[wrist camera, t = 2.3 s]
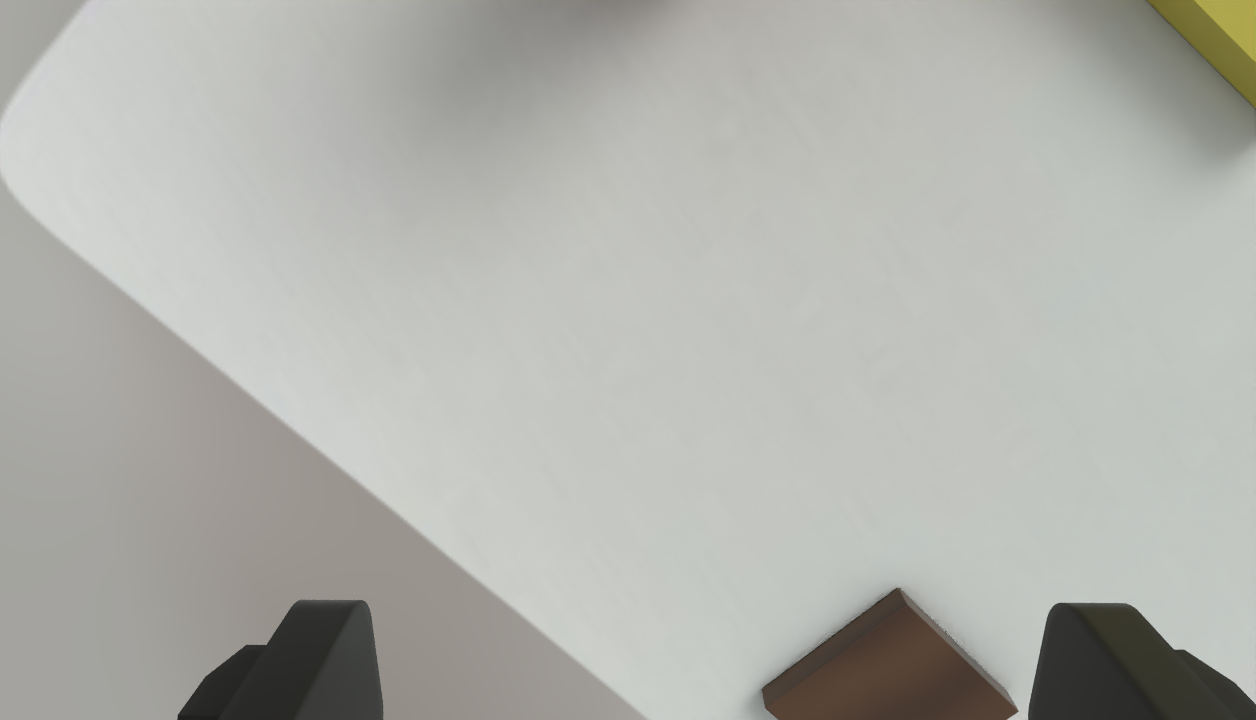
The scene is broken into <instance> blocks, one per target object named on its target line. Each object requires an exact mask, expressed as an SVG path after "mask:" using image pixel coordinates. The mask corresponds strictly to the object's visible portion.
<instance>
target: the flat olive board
mask: <svg viewBox="0 0 1256 720" xmlns="http://www.w3.org/2000/svg"><path fill="white" fill-rule="evenodd" d="M1147 1H1148V2H1149V3H1150V4H1151V5H1152V6H1153V7H1154V8H1155V9H1156V10H1157V11H1158V12H1159V13H1160V14H1161V15H1162V16H1163V17H1164V18H1165V19H1166V20H1167V21H1168V22H1169V23H1170V24H1171V25H1172V26H1173V27H1174V28H1175V29H1176V30H1177V31H1178V32H1179V33H1180V34H1181V35H1182V36H1183V37H1184V38H1185V39H1186V40H1187V41H1188V42H1189V43H1190V44H1191V45H1192V46H1193V47H1194V48H1195V49H1196V50H1197V51H1198V52H1199V53H1200V54H1201V55H1202V56H1203V57H1204V58H1205V59H1206V60H1207V61H1208V62H1209V63H1210V64H1211V65H1212V66H1213V67H1214V68H1215V69H1217V70H1218V71H1219V72H1220V73H1221V74H1222V75H1223V76H1224V77H1225V78H1226V79H1227V80H1228V81H1229V82H1230V83H1231V84H1232V85H1233V86H1234V87H1235V88H1236V89H1237V90H1238V91H1239V92H1240V93H1241V94H1242V95H1243V96H1244V97H1245V98H1246V99H1247V100H1248V101H1249V102H1250V103H1251V104H1252V105H1253V106H1254V107H1255V108H1256V0H1147Z"/></svg>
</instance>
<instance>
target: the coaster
mask: <svg viewBox="0 0 1256 720" xmlns="http://www.w3.org/2000/svg"><path fill="white" fill-rule="evenodd" d="M762 693H763V699H764V704H765V708H766V709H767V710H768V711H769V712H770V713H771V714H773V715H774V716H775V717H776V718H777V719H778V720H1007V719H1008V718H1010V717H1011V716H1013V715H1014V714H1016V713H1017V712H1018V709H1017V707H1016V706H1015V704H1014V702H1013V701H1012V699H1011V697H1010V696H1009V694H1008V692H1007V691H1006V690H1005V689H1004V688H1003V687H1001V686H1000V685H999V684H998V683H997V682H996V681H995V680H994V679H993V678H992V677H991V676H990V675H989V674H988V673H987V672H986V671H985V670H984V669H983V668H982V667H981V666H980V665H979V664H978V663H977V662H976V661H974V660H973V659H972V658H971V657H970V656H969V655H968V654H967V653H966V652H965V651H964V650H963V649H962V648H961V647H960V646H959V645H958V644H957V643H956V642H955V641H954V640H953V639H952V638H951V637H950V636H948V635H947V634H946V633H945V632H944V631H943V630H942V629H941V628H940V627H939V626H938V625H937V624H936V623H935V622H934V621H933V620H932V619H931V618H930V617H929V616H928V615H927V614H926V613H925V612H924V611H923V610H921V609H920V608H919V607H918V606H917V605H916V604H915V603H914V602H913V601H912V600H911V599H910V598H909V597H908V596H907V595H906V594H905V593H904V592H903V591H902V590H901V589H900V588H897V589H896V590H895V591H893V592H892V593H890V594H889V595H888V596H886V597H885V598H884V599H882V600H881V601H880V602H878V603H877V604H876V605H874V606H873V607H872V608H870V609H869V610H868V611H866V612H865V613H864V614H862V615H861V616H860V617H858V618H857V619H856V620H854V621H853V622H852V623H850V624H849V625H848V626H846V627H845V628H844V629H842V630H841V631H840V632H838V633H837V634H836V635H834V636H833V637H832V638H830V639H829V640H827V641H826V642H825V643H823V644H822V645H821V646H819V647H818V648H817V649H815V650H814V651H813V652H811V653H810V654H809V655H807V656H806V657H805V658H803V659H802V660H801V661H799V662H798V663H797V664H795V665H794V666H793V667H791V668H790V669H789V670H787V671H786V672H785V673H783V674H782V675H781V676H779V677H778V678H777V679H775V680H774V681H773V682H771V683H770V684H768V685H767V686H766V687H764V688H763V689H762Z"/></svg>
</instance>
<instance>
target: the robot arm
mask: <svg viewBox="0 0 1256 720" xmlns="http://www.w3.org/2000/svg"><path fill="white" fill-rule="evenodd" d="M177 720H383V700H382V692H381V685H380V678H379V670H378V663H377V656H376V648H375V641H374V633H373V627H372V618H371V613H370V610H369V607H368V605H367V603H366V602H365V601H363V600H299V601H297V602H296V603H295V604H294V605H293V606H292V607H291V609H290V610H289V611H288V613H287V615H286V616H285V618H284V619H283V621H282V622H281V624H280V625H279V627H278V628H277V630H276V631H275V633H274V634H273V636H272V638H271V639H270V641H269V642H268V644H267V645H246V646H244V647H243V648H242V649H241V650H239V651H238V652H237V653H235V654H234V655H233V656H232V657H230V658H229V659H228V660H226V661H225V662H224V663H223V664H221V665H220V666H219V667H217V668H216V669H215V670H214V671H212V672H211V673H210V674H209V675H207V676H206V677H205V678H204V679H203V681H202V682H201V684H200V685H199V686H198V688H197V689H196V691H195V692H194V694H193V695H192V696H191V698H190V699H189V700H188V702H187V703H186V705H185V706H184V707H183V709H182V710H181V711H180V713H179V714H178V719H177ZM1028 720H1256V704H1255V703H1254V702H1253V701H1252V700H1251V699H1250V698H1249V697H1248V696H1247V695H1246V694H1245V693H1244V692H1243V691H1242V690H1241V689H1240V688H1239V687H1238V686H1237V685H1236V684H1235V683H1234V682H1233V681H1231V680H1230V679H1228V678H1227V677H1225V676H1223V675H1222V674H1220V673H1219V672H1217V671H1216V670H1214V669H1213V668H1211V667H1210V666H1208V665H1207V664H1205V663H1204V662H1202V661H1201V660H1199V659H1198V658H1196V657H1195V656H1193V655H1191V654H1190V653H1188V652H1187V651H1185V650H1174V649H1173V648H1172V647H1171V646H1170V645H1169V644H1168V643H1167V642H1166V641H1165V640H1164V638H1163V637H1162V636H1161V635H1160V634H1159V633H1158V632H1157V631H1156V630H1155V629H1154V628H1153V626H1152V625H1151V624H1150V623H1149V622H1148V621H1147V620H1146V619H1145V618H1144V617H1143V616H1142V614H1141V613H1140V612H1139V611H1138V610H1136V609H1135V608H1134V607H1132V606H1131V605H1128V604H1126V603H1058V604H1056V605H1054V606H1053V607H1052V609H1051V610H1050V612H1049V614H1048V617H1047V621H1046V626H1045V630H1044V635H1043V640H1042V645H1041V650H1040V655H1039V660H1038V665H1037V669H1036V674H1035V679H1034V684H1033V689H1032V694H1031V699H1030V704H1029V712H1028Z"/></svg>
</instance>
